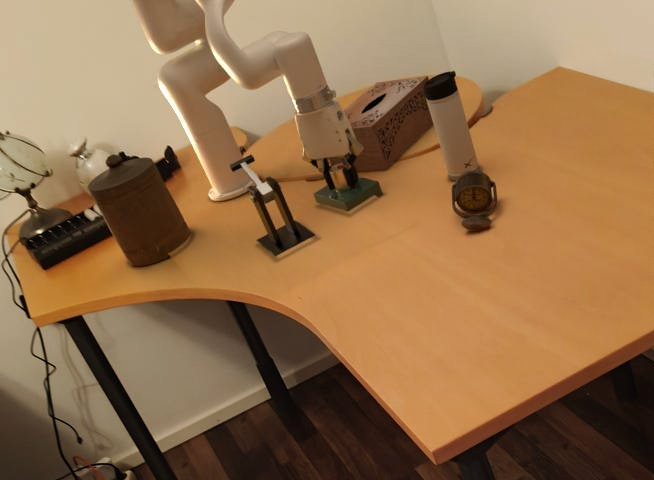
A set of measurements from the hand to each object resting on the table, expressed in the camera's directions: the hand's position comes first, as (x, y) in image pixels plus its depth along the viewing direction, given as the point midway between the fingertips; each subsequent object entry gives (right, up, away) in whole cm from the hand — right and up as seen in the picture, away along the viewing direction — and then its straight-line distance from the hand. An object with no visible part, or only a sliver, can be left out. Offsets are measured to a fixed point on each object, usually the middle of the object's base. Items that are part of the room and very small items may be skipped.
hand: (344, 184), depth 174 cm
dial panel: (+1, -3, +2) cm, 4 cm away
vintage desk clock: (+26, -11, -21) cm, 35 cm away
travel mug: (+25, +1, -5) cm, 25 cm away
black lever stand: (-11, -13, -5) cm, 17 cm away
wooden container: (-41, -11, +13) cm, 45 cm away
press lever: (-17, -2, -8) cm, 19 cm away
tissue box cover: (+8, +14, +21) cm, 27 cm away
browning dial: (0, 0, 0) cm, 1 cm away
